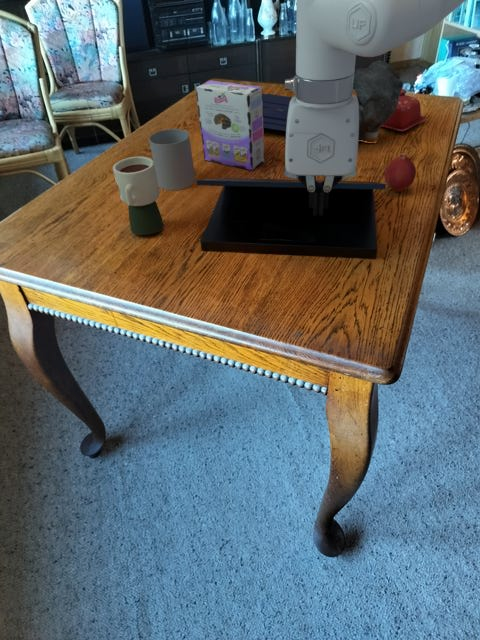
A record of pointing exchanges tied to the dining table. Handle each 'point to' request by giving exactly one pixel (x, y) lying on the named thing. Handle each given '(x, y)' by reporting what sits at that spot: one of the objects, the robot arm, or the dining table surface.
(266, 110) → the dark blue tray
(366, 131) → the narwhal figurine
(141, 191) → the character mug
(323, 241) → the laptop
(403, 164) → the onion
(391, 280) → the dining table surface
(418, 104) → the butter dish
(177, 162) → the cup
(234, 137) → the candy box
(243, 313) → the dining table surface
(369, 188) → the laptop screen
